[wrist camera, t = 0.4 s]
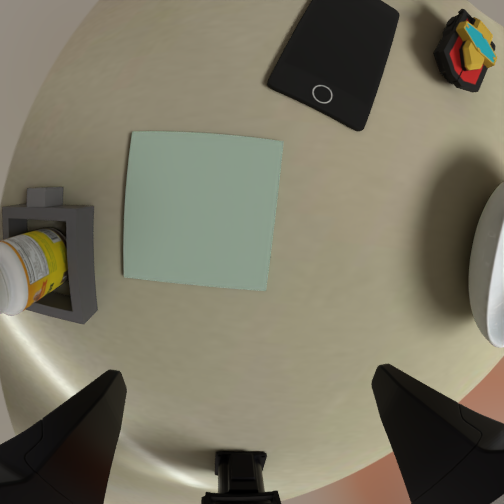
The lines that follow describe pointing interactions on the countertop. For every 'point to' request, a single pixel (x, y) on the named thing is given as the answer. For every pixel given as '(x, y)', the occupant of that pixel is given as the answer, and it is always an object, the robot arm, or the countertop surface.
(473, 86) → the gadget
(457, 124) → the countertop surface
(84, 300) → the collar
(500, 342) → the serving bowl
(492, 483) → the robot arm
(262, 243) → the mat
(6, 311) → the supplement bottle
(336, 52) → the cell phone
